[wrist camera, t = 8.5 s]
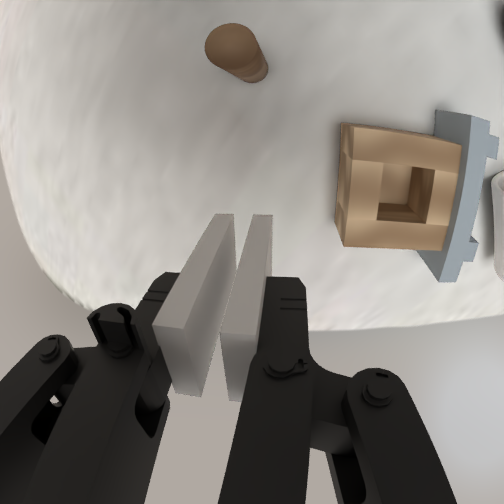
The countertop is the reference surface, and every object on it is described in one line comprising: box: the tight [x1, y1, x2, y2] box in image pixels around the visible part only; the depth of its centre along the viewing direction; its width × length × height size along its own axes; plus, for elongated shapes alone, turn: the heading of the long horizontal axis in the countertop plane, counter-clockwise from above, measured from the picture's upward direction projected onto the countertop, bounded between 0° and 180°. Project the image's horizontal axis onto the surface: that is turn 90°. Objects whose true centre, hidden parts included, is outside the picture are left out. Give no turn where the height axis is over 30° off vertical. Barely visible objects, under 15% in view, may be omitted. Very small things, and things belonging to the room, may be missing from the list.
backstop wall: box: [416, 110, 499, 282], centre depth 20 cm, size 14×5×6 cm, turn 1°
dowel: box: [205, 23, 268, 83], centre depth 16 cm, size 3×3×10 cm
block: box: [335, 123, 462, 251], centre depth 21 cm, size 9×9×5 cm
